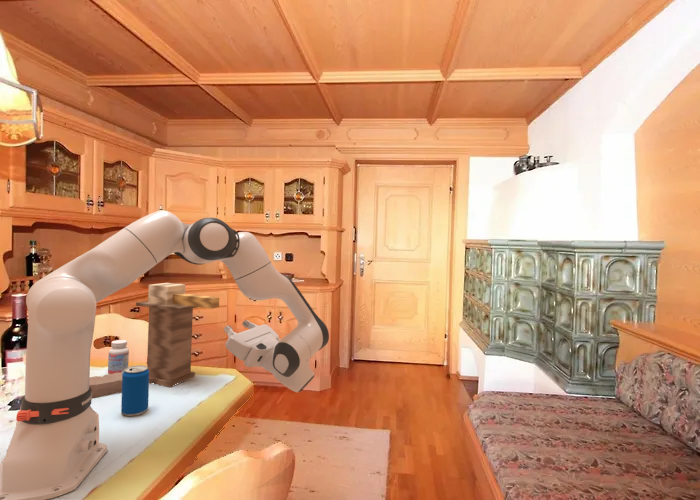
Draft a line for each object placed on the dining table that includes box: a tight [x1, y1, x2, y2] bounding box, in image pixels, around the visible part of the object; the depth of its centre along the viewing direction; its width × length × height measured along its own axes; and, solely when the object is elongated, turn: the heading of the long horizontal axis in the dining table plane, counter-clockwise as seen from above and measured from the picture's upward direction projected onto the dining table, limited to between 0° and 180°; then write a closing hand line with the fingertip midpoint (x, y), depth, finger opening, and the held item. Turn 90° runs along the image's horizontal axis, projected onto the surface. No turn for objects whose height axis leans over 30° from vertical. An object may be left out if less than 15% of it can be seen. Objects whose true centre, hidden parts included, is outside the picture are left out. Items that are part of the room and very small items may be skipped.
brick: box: [89, 372, 124, 399], centre depth 118 cm, size 17×8×5 cm, turn 131°
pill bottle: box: [107, 339, 130, 375], centre depth 134 cm, size 6×6×11 cm
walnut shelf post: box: [135, 300, 198, 388], centre depth 131 cm, size 18×12×26 cm, turn 71°
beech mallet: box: [147, 282, 220, 310], centre depth 129 cm, size 24×8×6 cm, turn 71°
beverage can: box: [120, 365, 150, 417], centre depth 106 cm, size 6×6×12 cm
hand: (235, 324), depth 122 cm, fingers open, 8 cm apart
